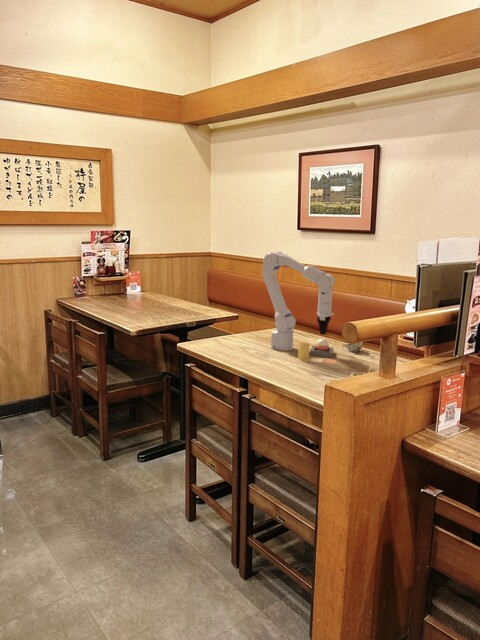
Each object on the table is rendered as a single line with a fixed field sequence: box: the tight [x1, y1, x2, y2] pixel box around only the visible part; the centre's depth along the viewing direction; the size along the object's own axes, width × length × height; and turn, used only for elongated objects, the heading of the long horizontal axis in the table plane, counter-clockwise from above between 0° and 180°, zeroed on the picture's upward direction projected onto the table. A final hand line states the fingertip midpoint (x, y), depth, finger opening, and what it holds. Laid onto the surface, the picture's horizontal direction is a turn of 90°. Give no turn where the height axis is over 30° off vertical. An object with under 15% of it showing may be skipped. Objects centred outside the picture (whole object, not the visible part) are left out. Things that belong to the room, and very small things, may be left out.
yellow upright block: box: [297, 342, 310, 362], centre depth 208 cm, size 4×4×6 cm
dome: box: [315, 338, 330, 351], centre depth 216 cm, size 6×6×5 cm
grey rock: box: [342, 341, 366, 353], centre depth 224 cm, size 9×8×10 cm
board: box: [296, 357, 337, 365], centre depth 212 cm, size 17×22×1 cm
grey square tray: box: [309, 345, 334, 359], centre depth 217 cm, size 9×9×2 cm
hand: (323, 333), depth 215 cm, fingers closed
